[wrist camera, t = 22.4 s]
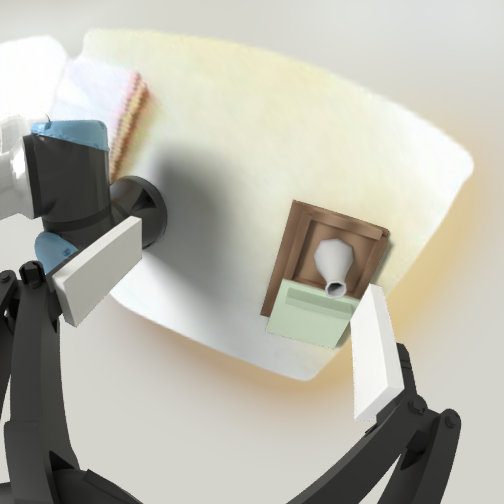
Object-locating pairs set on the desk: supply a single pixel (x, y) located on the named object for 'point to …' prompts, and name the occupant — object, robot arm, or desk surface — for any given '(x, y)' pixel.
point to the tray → (307, 240)
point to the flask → (334, 265)
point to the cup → (16, 128)
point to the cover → (310, 314)
